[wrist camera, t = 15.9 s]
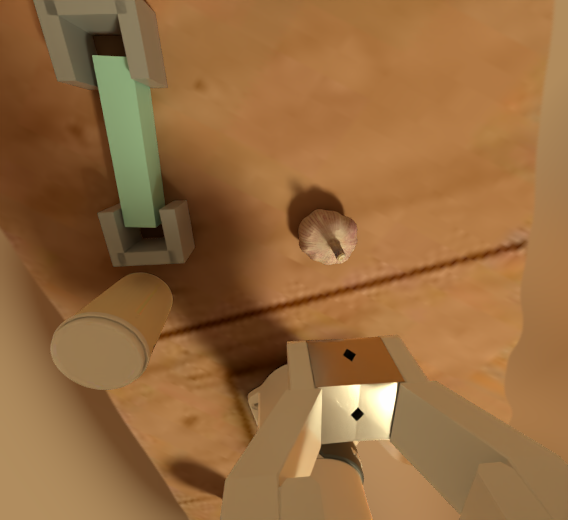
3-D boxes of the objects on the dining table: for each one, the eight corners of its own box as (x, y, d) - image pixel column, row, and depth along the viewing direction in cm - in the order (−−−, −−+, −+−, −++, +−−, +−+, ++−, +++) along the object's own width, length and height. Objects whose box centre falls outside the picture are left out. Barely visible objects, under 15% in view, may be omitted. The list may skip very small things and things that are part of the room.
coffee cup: (128, 330, 42) (77, 400, 31) (96, 275, 38) (26, 331, 27) (189, 316, 41) (160, 382, 30) (163, 259, 37) (119, 309, 26)
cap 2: (195, 247, 37) (184, 263, 32) (132, 250, 37) (113, 266, 32) (186, 199, 35) (174, 209, 30) (120, 202, 34) (97, 212, 30)
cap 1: (70, 15, 27) (30, -10, 23) (155, 13, 27) (132, -12, 23) (90, 90, 30) (57, 81, 25) (167, 87, 30) (149, 78, 25)
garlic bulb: (360, 246, 38) (381, 272, 31) (309, 267, 39) (319, 297, 32) (341, 194, 35) (360, 209, 28) (287, 218, 36) (292, 238, 29)
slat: (114, 65, 29) (91, 55, 26) (148, 67, 29) (130, 56, 26) (139, 217, 36) (124, 227, 32) (167, 218, 36) (156, 227, 32)
